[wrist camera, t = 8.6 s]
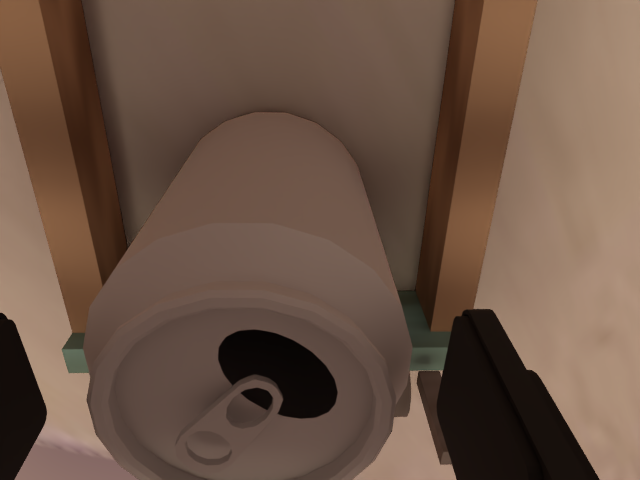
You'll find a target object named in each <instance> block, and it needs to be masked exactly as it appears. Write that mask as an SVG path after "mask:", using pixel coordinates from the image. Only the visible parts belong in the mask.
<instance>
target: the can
mask: <svg viewBox="0 0 640 480" xmlns="http://www.w3.org/2000/svg"><path fill="white" fill-rule="evenodd" d="M412 348H413V346H412V343H411V339H410V335H409V331H408V328H407V324H406V320H405V316H404V313H403V309H402V305H401V302H400V299H399V296H398V293H397V289H396V286H395V283H394V280H393V277H392V274H391V270H390V267H389V264H388V261H387V258H386V254H385V251H384V248H383V245H382V242H381V239H380V235H379V232H378V229H377V226H376V223H375V220H374V216H373V213H372V210H371V207H370V204H369V200H368V197H367V194H366V191H365V188H364V185H363V181H362V178H361V175H360V172H359V169H358V165H357V164H356V163H355V161H354V160H353V158H352V157H351V155H350V154H349V152H348V151H347V149H346V148H345V147H344V145H343V144H342V142H341V141H340V140H338V139H337V138H336V137H335V136H333V135H332V134H331V133H329V132H328V131H327V130H325V129H324V128H323V127H321V126H320V125H319V124H317V123H315V122H312V121H309V120H307V119H304V118H301V117H298V116H295V115H292V114H289V113H280V112H253V113H250V114H247V115H244V116H240V117H237V118H234V119H231V120H228V121H225V122H223V123H222V124H220V125H219V126H218V127H216V128H215V129H214V130H212V131H211V132H210V133H208V134H207V135H206V136H204V137H203V138H202V139H200V141H199V142H198V144H197V145H196V147H195V148H194V150H193V151H192V153H191V154H190V156H189V157H188V159H187V160H186V162H185V163H184V165H183V166H182V168H181V169H180V171H179V172H178V174H177V175H176V177H175V178H174V180H173V182H172V183H171V185H170V186H169V188H168V189H167V191H166V192H165V194H164V195H163V197H162V198H161V200H160V201H159V203H158V204H157V206H156V207H155V209H154V210H153V212H152V213H151V215H150V216H149V218H148V219H147V221H146V222H145V224H144V225H143V227H142V228H141V230H140V231H139V233H138V234H137V236H136V237H135V239H134V240H133V242H132V243H131V245H130V247H129V248H128V250H127V251H126V253H125V254H124V256H123V257H122V259H121V260H120V262H119V263H118V265H117V266H116V268H115V269H114V271H113V272H112V274H111V275H110V277H109V278H108V280H107V281H106V283H105V284H104V286H103V287H102V289H101V290H100V292H99V293H98V295H97V296H96V298H95V299H94V301H93V302H92V304H91V305H90V307H89V313H88V319H87V326H86V332H85V338H84V344H83V351H84V355H85V358H86V362H87V366H88V370H89V374H90V383H89V389H88V394H87V403H88V407H89V411H90V414H91V418H92V422H93V425H94V429H95V433H96V435H97V436H98V438H99V439H100V440H101V442H102V443H103V444H104V446H105V447H106V448H107V450H108V451H109V452H110V454H111V455H112V456H113V458H114V459H115V460H116V462H117V463H118V464H119V465H120V466H121V467H122V468H123V469H125V470H126V471H128V472H129V473H130V474H132V475H133V476H135V477H136V478H137V479H139V480H353V479H354V478H355V477H356V476H357V475H358V474H360V473H361V472H362V471H363V470H364V469H365V468H367V467H368V466H369V465H370V464H371V463H373V462H374V461H375V459H376V457H377V456H378V454H379V452H380V451H381V449H382V447H383V446H384V444H385V442H386V440H387V439H388V437H389V435H390V434H391V432H392V427H393V420H394V412H395V405H396V404H397V402H398V400H399V398H400V397H401V395H402V393H403V391H404V390H405V388H406V386H407V382H408V375H409V369H410V362H411V355H412Z"/></svg>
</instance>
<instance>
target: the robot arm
mask: <svg viewBox="0 0 640 480" xmlns="http://www.w3.org/2000/svg"><path fill="white" fill-rule="evenodd" d="M436 408H437V416H438V420H439V424H440V427H441V430H442V433H443V436H444V440H445V443H446V446H447V449H448V453H449V456H450V459H451V462H452V466H453V469H454V472H455V475H456V479H457V480H600V479H599V478H598V476H597V474H596V473H595V471H594V469H593V467H592V466H591V464H590V462H589V461H588V459H587V457H586V455H585V454H584V452H583V450H582V449H581V447H580V445H579V444H578V442H577V440H576V438H575V437H574V435H573V433H572V432H571V430H570V428H569V426H568V425H567V423H566V421H565V420H564V418H563V416H562V414H561V413H560V411H559V409H558V408H557V406H556V404H555V403H554V401H553V399H552V397H551V396H550V394H549V392H548V391H547V389H546V387H545V385H544V384H543V382H542V380H541V379H540V377H539V376H538V375H537V373H535V372H534V371H532V370H527V369H526V368H525V366H524V364H523V362H522V361H521V359H520V357H519V355H518V354H517V352H516V350H515V348H514V346H513V345H512V343H511V341H510V339H509V338H508V336H507V334H506V332H505V330H504V329H503V327H502V325H501V323H500V322H499V320H498V318H497V316H496V315H495V313H494V312H493V310H491V309H466V310H464V311H463V312H462V315H461V316H456V317H455V318H454V321H453V325H452V330H451V335H450V340H449V344H448V349H447V354H446V359H445V364H444V369H443V374H442V378H441V383H440V388H439V393H438V398H437V407H436ZM46 416H47V409H46V405H45V403H44V400H43V397H42V395H41V392H40V389H39V387H38V384H37V381H36V379H35V376H34V373H33V371H32V368H31V365H30V363H29V360H28V357H27V354H26V352H25V349H24V346H23V344H22V341H21V338H20V336H19V333H18V330H17V328H16V325H15V323H14V322H13V321H12V320H9V319H7V317H6V316H5V315H4V314H3V313H0V480H14V479H15V477H16V476H17V474H18V472H19V470H20V468H21V466H22V465H23V463H24V461H25V459H26V457H27V456H28V454H29V452H30V450H31V448H32V446H33V445H34V443H35V441H36V439H37V437H38V435H39V434H40V432H41V430H42V428H43V426H44V424H45V421H46Z"/></svg>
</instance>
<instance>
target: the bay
mask: <svg viewBox="0 0 640 480" xmlns="http://www.w3.org/2000/svg"><path fill="white" fill-rule="evenodd" d="M536 5H537V0H455V7H454V14H453V21H452V29H451V36H450V43H449V50H448V58H447V65H446V72H445V80H444V87H443V94H442V101H441V109H440V116H439V123H438V130H437V138H436V145H435V152H434V160H433V167H432V174H431V181H430V189H429V196H428V203H427V211H426V218H425V225H424V232H423V240H422V247H421V254H420V262H419V269H418V276H417V283H416V291H397V293H398V296H399V299H400V302H401V305H402V309H403V313H404V316H405V320H406V324H407V328H408V331H409V335H410V339H411V343H412V346H413V348H412V355H411V362H410V369H409V371H418V370H443V369H444V364H445V359H446V354H447V349H448V344H449V340H450V335H451V330H452V325H453V321H454V318H455V317H456V316H461V315H462V312H463V311H464V310H466V309H473V307H474V302H475V298H476V293H477V288H478V283H479V278H480V274H481V269H482V264H483V259H484V254H485V250H486V245H487V240H488V235H489V230H490V226H491V221H492V216H493V211H494V206H495V202H496V197H497V192H498V187H499V182H500V178H501V173H502V168H503V163H504V158H505V154H506V149H507V144H508V139H509V134H510V130H511V125H512V120H513V115H514V110H515V106H516V101H517V96H518V91H519V86H520V82H521V77H522V72H523V67H524V62H525V58H526V53H527V48H528V43H529V39H530V34H531V29H532V24H533V19H534V15H535V10H536ZM0 68H1V72H2V76H3V79H4V83H5V87H6V90H7V94H8V98H9V101H10V105H11V109H12V112H13V116H14V120H15V123H16V127H17V131H18V134H19V138H20V142H21V145H22V149H23V153H24V156H25V160H26V164H27V167H28V171H29V175H30V178H31V182H32V186H33V189H34V193H35V197H36V200H37V204H38V208H39V211H40V215H41V219H42V222H43V226H44V230H45V233H46V237H47V241H48V244H49V248H50V252H51V255H52V259H53V263H54V266H55V270H56V274H57V277H58V281H59V285H60V288H61V292H62V296H63V299H64V303H65V307H66V310H67V314H68V318H69V321H70V325H71V329H72V332H73V333H72V335H71V336H70V338H69V339H68V341H67V342H66V344H65V345H64V347H63V348H62V352H63V355H64V359H65V362H66V366H67V369H68V372H69V373H89V370H88V366H87V362H86V358H85V355H84V351H83V344H84V338H85V332H86V326H87V319H88V313H89V307H90V305H91V304H92V302H93V301H94V299H95V298H96V296H97V295H98V293H99V292H100V290H101V289H102V287H103V286H104V284H105V283H106V281H107V280H108V278H109V277H110V275H111V274H112V272H113V271H114V269H115V268H116V266H117V265H118V263H119V262H120V260H121V259H122V257H123V256H124V254H125V253H126V251H127V250H128V248H127V243H126V238H125V232H124V227H123V222H122V216H121V211H120V206H119V200H118V195H117V190H116V184H115V179H114V174H113V168H112V163H111V157H110V152H109V147H108V141H107V136H106V131H105V125H104V120H103V115H102V109H101V104H100V99H99V93H98V88H97V83H96V77H95V72H94V66H93V61H92V56H91V50H90V45H89V40H88V34H87V29H86V24H85V18H84V13H83V8H82V2H81V0H0ZM441 378H442V377H441V374H440V372H439V371H418V378H417V386H418V389H419V393H420V396H421V399H422V403H423V406H424V410H425V413H426V417H427V420H428V424H429V427H430V430H431V434H432V437H433V441H434V444H435V448H436V451H437V455H438V458H439V461H440V465H443V464H452V462H451V459H450V456H449V453H448V449H447V446H446V443H445V440H444V436H443V433H442V430H441V427H440V424H439V420H438V416H437V408H436V407H437V398H438V393H439V388H440V383H441ZM410 402H411V382H410V372H409V375H408V382H407V386H406V388H405V390H404V391H403V393H402V395H401V397H400V398H399V400H398V402H397V404H396V405H395V412H394V417H406V416H407V415H408V413H409V410H410Z"/></svg>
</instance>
